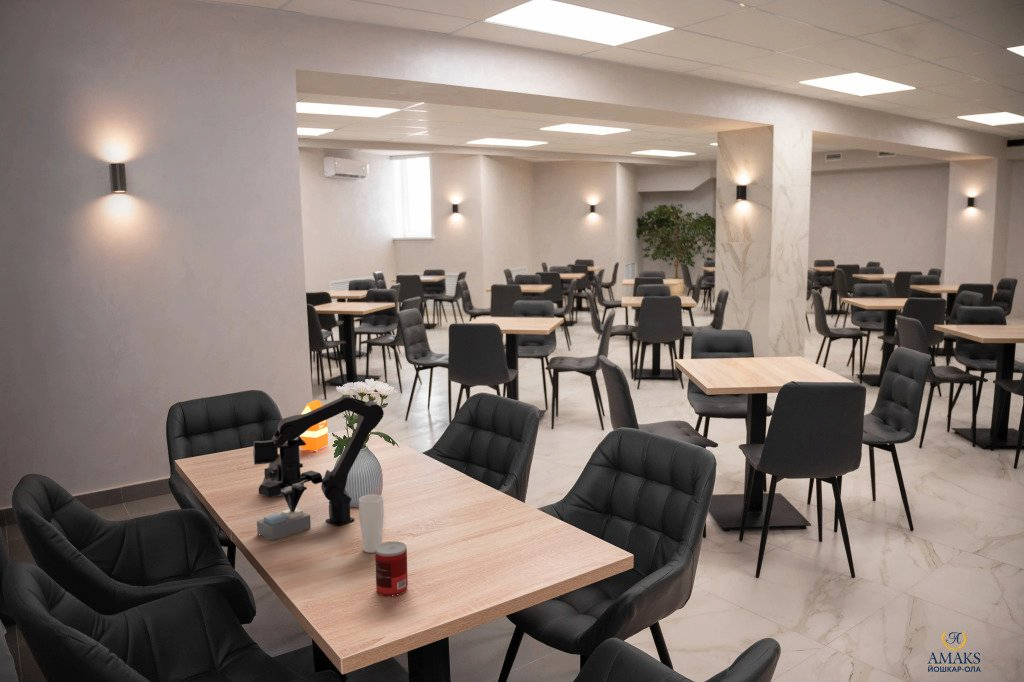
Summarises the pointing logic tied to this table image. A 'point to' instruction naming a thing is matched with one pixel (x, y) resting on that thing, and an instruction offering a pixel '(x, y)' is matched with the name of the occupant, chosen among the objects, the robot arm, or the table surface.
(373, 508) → the drinking glass
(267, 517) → the blue key
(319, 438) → the orange juice
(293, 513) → the cream key
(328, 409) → the robot arm
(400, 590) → the canned food
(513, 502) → the table surface
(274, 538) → the key block
